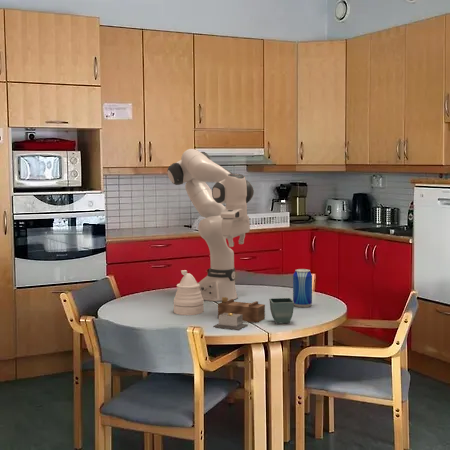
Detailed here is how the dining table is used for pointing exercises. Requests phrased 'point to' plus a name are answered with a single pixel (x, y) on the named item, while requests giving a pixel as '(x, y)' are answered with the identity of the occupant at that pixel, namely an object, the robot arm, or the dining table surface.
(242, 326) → the mat
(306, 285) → the beer can
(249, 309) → the body
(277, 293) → the dining table surface
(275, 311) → the flower pot
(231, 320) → the lever cap
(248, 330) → the dining table surface
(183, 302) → the honey pot
